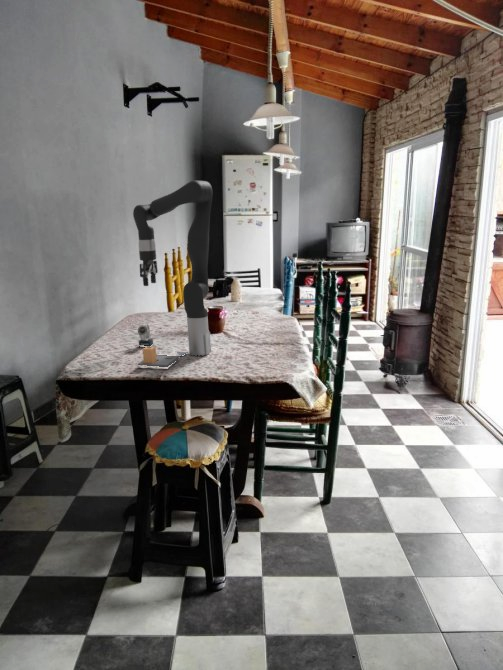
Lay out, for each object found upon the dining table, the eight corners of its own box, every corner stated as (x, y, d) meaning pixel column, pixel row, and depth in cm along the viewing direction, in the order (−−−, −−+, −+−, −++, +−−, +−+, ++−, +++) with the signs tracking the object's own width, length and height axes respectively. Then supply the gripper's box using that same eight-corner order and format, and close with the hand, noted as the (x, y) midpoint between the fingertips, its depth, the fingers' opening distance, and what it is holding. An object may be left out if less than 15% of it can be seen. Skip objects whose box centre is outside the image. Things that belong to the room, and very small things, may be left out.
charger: (156, 364, 219) (155, 346, 217) (152, 367, 216) (151, 348, 214) (148, 364, 220) (146, 345, 218) (144, 367, 217) (142, 348, 215)
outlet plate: (178, 360, 224) (178, 355, 224) (167, 369, 212) (166, 364, 212) (151, 359, 228) (150, 354, 227) (138, 368, 215) (137, 363, 215)
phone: (162, 353, 239) (162, 350, 238) (188, 354, 235) (188, 351, 235) (156, 356, 233) (156, 354, 233) (183, 358, 230) (182, 355, 229)
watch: (137, 348, 245) (135, 326, 242) (143, 344, 253) (142, 322, 250) (148, 348, 244) (146, 326, 241) (154, 344, 252) (152, 322, 249)
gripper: (148, 251, 229) (151, 287, 233) (161, 248, 242) (163, 282, 247) (132, 251, 231) (135, 286, 235) (146, 248, 244) (148, 282, 248)
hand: (149, 284), depth 241 cm, fingers open, 8 cm apart
